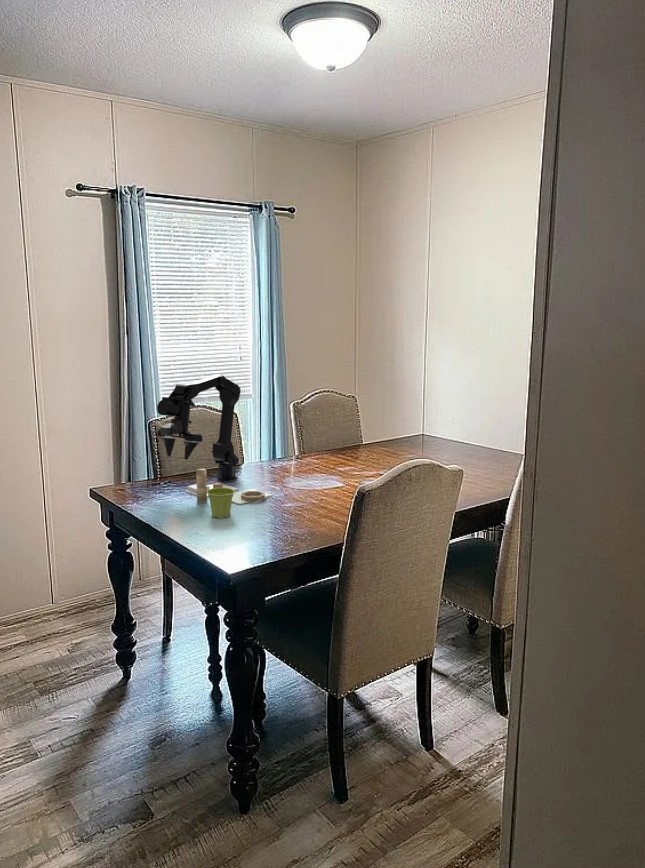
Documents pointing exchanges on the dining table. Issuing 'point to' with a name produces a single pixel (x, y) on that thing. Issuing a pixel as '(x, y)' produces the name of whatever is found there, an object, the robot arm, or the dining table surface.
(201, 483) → the dowel
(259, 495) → the board
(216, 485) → the tile
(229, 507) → the plant pot
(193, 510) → the dining table surface
